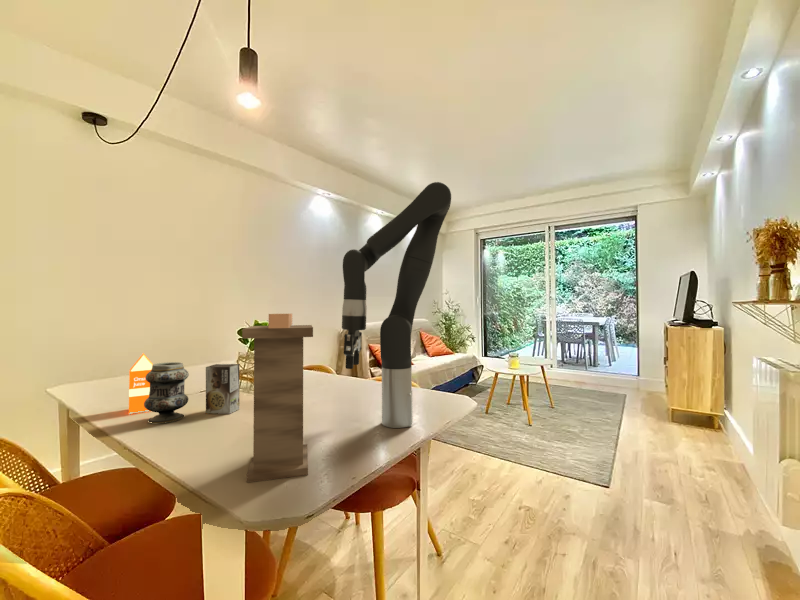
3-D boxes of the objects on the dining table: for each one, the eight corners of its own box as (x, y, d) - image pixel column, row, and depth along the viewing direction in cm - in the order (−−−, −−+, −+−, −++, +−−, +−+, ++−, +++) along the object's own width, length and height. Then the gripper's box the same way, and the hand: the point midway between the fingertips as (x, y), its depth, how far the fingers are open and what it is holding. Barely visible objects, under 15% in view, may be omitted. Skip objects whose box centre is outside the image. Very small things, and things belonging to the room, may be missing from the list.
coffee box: (240, 409, 127) (240, 363, 127) (229, 414, 120) (230, 366, 121) (216, 408, 128) (216, 363, 128) (204, 413, 121) (205, 366, 122)
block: (277, 324, 99) (277, 313, 99) (292, 324, 100) (292, 313, 100) (268, 328, 74) (268, 313, 74) (288, 328, 75) (288, 313, 75)
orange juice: (128, 414, 121) (129, 355, 121) (128, 409, 128) (129, 353, 129) (156, 410, 125) (156, 353, 126) (155, 405, 132) (156, 351, 133)
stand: (252, 452, 87) (253, 326, 88) (311, 446, 91) (311, 325, 92) (241, 483, 72) (242, 328, 73) (312, 474, 75) (313, 327, 76)
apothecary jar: (196, 415, 119) (197, 361, 119) (161, 426, 108) (162, 367, 108) (170, 412, 123) (171, 360, 124) (134, 423, 112) (135, 365, 112)
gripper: (361, 315, 104) (359, 370, 103) (370, 314, 118) (368, 363, 118) (336, 314, 104) (334, 369, 104) (347, 314, 119) (346, 362, 118)
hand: (352, 366), depth 111 cm, fingers open, 8 cm apart
